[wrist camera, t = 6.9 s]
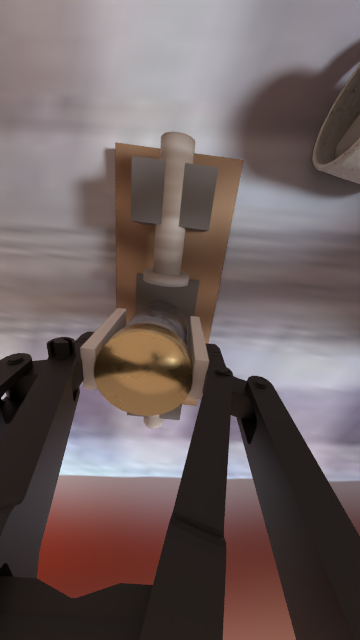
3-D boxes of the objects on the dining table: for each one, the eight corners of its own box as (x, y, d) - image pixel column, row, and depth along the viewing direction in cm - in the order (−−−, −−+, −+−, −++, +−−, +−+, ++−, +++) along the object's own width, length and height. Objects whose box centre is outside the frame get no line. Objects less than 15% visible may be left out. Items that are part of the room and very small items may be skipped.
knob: (162, 283, 16) (146, 313, 9) (202, 331, 17) (212, 386, 11) (115, 321, 17) (73, 370, 11) (156, 363, 19) (140, 428, 12)
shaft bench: (119, 148, 18) (86, 102, 12) (239, 164, 18) (267, 127, 12) (119, 391, 29) (102, 433, 22) (195, 399, 29) (198, 442, 23)
